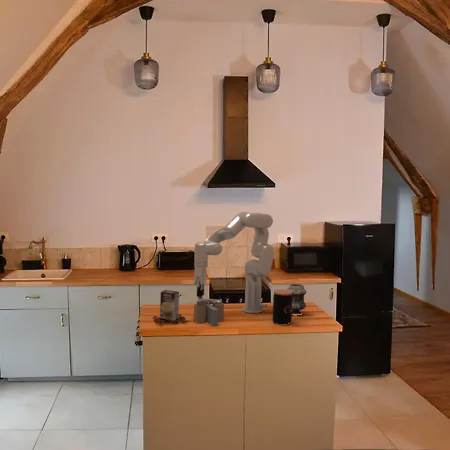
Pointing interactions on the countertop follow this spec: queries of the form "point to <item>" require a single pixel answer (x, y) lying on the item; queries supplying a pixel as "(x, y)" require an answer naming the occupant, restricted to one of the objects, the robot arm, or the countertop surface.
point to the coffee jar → (282, 306)
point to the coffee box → (169, 304)
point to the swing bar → (209, 299)
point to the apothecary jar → (297, 297)
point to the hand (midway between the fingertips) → (200, 295)
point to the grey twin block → (208, 313)
